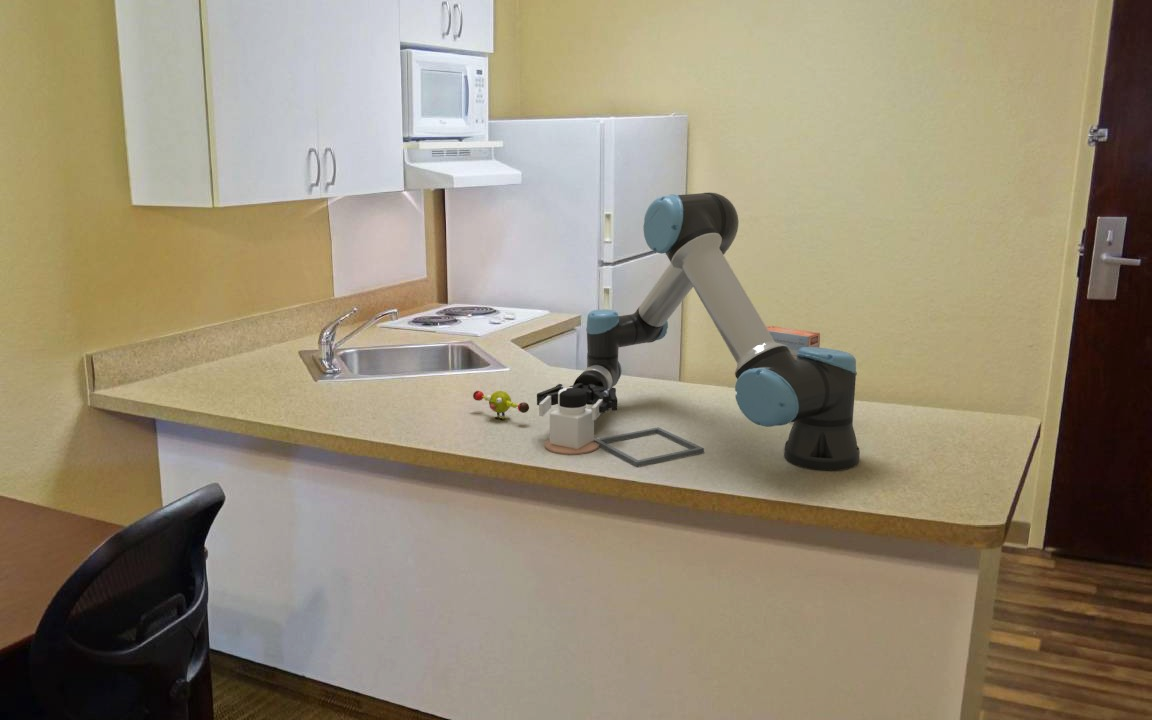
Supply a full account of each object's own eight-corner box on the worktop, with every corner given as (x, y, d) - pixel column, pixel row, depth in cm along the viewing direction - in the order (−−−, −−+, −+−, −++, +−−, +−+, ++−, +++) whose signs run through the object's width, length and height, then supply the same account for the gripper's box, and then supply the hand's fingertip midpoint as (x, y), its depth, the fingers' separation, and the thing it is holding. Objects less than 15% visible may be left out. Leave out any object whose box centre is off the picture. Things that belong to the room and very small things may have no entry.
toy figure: (465, 414, 232) (465, 387, 230) (482, 409, 236) (482, 382, 234) (518, 429, 220) (517, 400, 218) (535, 423, 224) (534, 395, 222)
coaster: (610, 448, 206) (610, 445, 206) (561, 458, 200) (561, 455, 200) (582, 433, 216) (582, 431, 216) (535, 442, 210) (535, 439, 210)
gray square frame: (703, 452, 203) (704, 448, 203) (636, 467, 195) (636, 462, 194) (658, 431, 217) (658, 427, 217) (593, 444, 209) (593, 439, 209)
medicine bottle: (594, 440, 209) (594, 387, 206) (577, 450, 203) (577, 395, 200) (566, 435, 213) (566, 383, 210) (549, 444, 207) (549, 390, 204)
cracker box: (817, 418, 226) (821, 331, 221) (803, 424, 221) (808, 336, 216) (765, 407, 235) (769, 323, 230) (752, 412, 231) (755, 327, 226)
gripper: (641, 404, 221) (620, 432, 200) (544, 397, 227) (514, 424, 206) (642, 372, 219) (621, 398, 198) (544, 366, 225) (514, 391, 204)
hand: (566, 411), depth 202 cm, fingers open, 11 cm apart
